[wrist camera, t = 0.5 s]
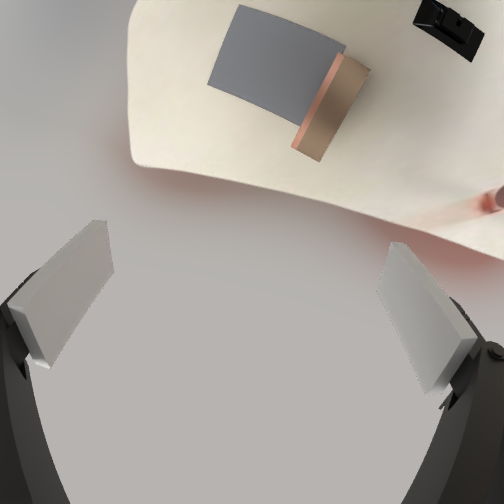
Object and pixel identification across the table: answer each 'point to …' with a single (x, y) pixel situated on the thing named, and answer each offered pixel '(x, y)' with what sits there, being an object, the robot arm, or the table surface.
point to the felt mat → (273, 63)
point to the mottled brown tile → (330, 106)
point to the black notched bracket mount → (449, 28)
